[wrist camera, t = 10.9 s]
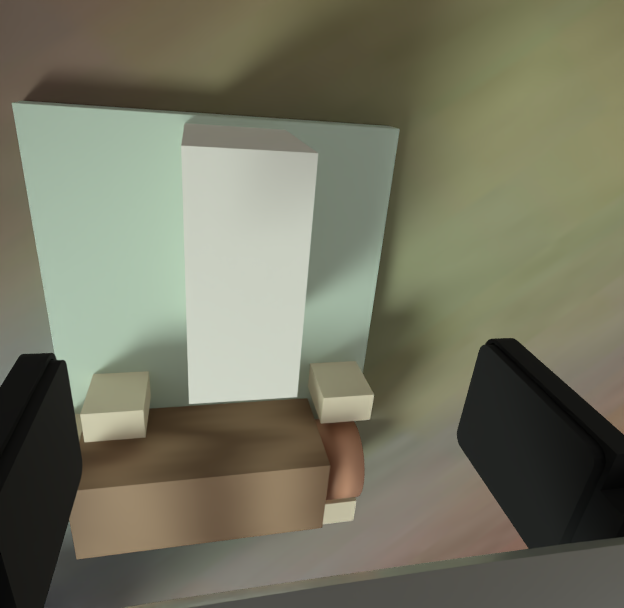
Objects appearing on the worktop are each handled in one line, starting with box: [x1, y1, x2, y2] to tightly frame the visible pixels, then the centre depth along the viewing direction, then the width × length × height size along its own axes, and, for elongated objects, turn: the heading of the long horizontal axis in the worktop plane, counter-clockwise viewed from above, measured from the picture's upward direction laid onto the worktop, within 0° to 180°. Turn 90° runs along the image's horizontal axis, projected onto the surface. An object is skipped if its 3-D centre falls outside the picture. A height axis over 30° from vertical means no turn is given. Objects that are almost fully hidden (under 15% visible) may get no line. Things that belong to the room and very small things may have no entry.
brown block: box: [69, 398, 364, 559], centre depth 24 cm, size 13×4×5 cm, turn 84°
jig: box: [12, 101, 400, 524], centre depth 23 cm, size 15×24×4 cm, turn 174°
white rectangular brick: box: [181, 123, 318, 404], centre depth 19 cm, size 4×9×6 cm, turn 174°
